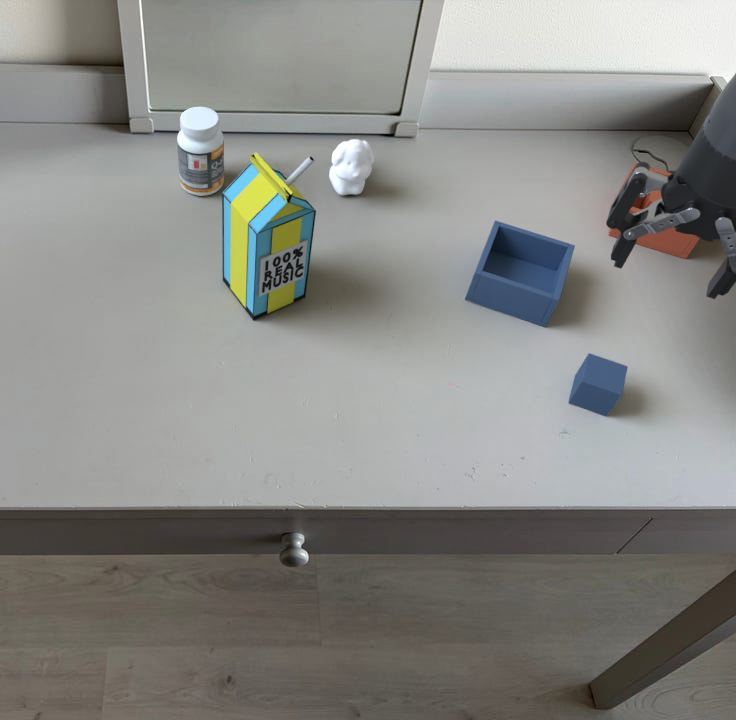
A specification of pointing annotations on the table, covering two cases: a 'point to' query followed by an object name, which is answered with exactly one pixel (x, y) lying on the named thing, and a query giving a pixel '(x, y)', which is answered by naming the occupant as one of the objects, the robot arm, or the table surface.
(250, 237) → the carton
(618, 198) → the robot arm
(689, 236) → the terracotta bin
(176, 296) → the table surface
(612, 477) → the table surface
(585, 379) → the slate-blue block
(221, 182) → the pill bottle
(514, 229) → the slate bin
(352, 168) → the figurine
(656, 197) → the terracotta block
